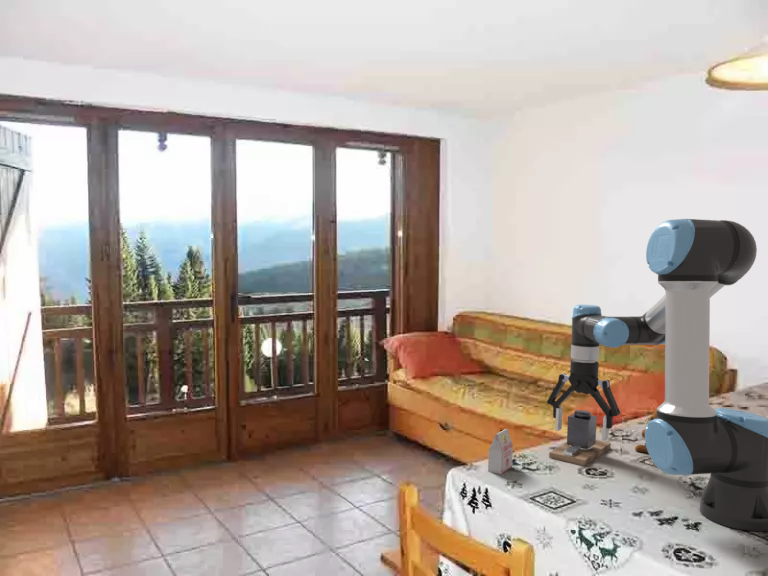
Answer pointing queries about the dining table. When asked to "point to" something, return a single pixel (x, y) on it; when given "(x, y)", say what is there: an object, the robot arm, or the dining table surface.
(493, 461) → the white gable top carton
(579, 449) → the block
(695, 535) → the dining table surface
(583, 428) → the grey cube with knob
